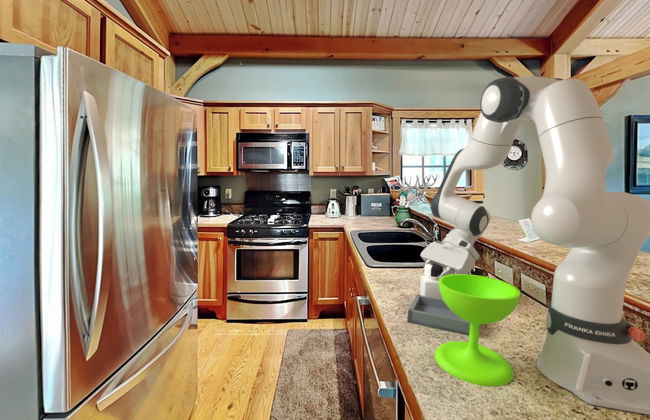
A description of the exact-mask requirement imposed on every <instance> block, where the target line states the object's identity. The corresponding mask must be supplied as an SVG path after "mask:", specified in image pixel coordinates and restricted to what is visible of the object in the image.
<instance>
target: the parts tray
mask: <svg viewBox="0 0 650 420" xmlns="http://www.w3.org/2000/svg"><path fill="white" fill-rule="evenodd" d="M407 323H410V324H413V325H418V326H419V325H420V326H423V327H428V328H433V329H438V330H442V331H445V332H450V333H451V332H452V333H456V334H460V335H465V336H469V332H470V322H469V321H466V320H464V319H462V318H460V317H459V316H457V315H456V314H455V313H454V312H452V311H451V310H450V309H449V308H448V306H447V305H446V303H445V302H444V301H443V299H440V298H434V297H428V296H423V295H420V294H416V295H415V297H414V299H413V300H412V303H411V304H410V306H409V308H408V310H407Z"/></svg>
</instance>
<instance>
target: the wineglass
mask: <svg viewBox="0 0 650 420" xmlns="http://www.w3.org/2000/svg"><path fill="white" fill-rule="evenodd" d="M439 290H440V293H441V295H442V298H443V301H444V302H445V303H446V305H447V306H448V308H449V309H450V310H451V311H452V312H454V313H455V314H456V315H457V316H459V317H460V318H462V319H464V320H466V321H469V322H470V332H469V335H468V341H462V340H461V341H458V340H457V341H448V342H445V343H442V344H441V345H439V346H438V347H437V348H436V350H435V352H434V360H435V361H436V363H437V365H438V366H439V367H440V368H442V370H443V371H444V372H446V373H448V374H449V375H451V376H452V377H453V378H456V379H458V380H461V381H462V382H466V383H469V384H471V385H477V386H482V387H501V386H505V385H508V384H509V383H511V382H512V380H513V379H514V377H515V376H514V370H513V368H512V365H511V364H510V362H509V361H508V360H507V359H506V358H504V356H502V355H501V354H499V353H498V352H497V351H495V350H493V349H492V348H489V347H487V346H483V345H481V344H479V337H480V326H481V325H490V324H494V323H497V322H500V321H503V320H504V319H506V318H507V317H508V316H509V315H511V314H512V313H513V312H514V311H515V308H516V307H517V306H518V304H519V301H520V297H521V290H520V289H518V288H517V287H516V286H514V285H512V284H511V283H509V282H507V281H504V280H500V279H497V278H493V277H489V276H483V275H476V274H469V273H468V274H457V273H455V274H454V273H452V274H451V275H446V276H443V277H441V278H440V279H439Z"/></svg>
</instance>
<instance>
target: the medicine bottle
mask: <svg viewBox="0 0 650 420" xmlns="http://www.w3.org/2000/svg"><path fill="white" fill-rule="evenodd" d="M424 267H425V270H424V272H423V273H424V274H423V275H420V285H419V286H420V287H419V295H423V296H428V297H434V298H440V299H443V298H442V295H441V293H440V290H439V278H438V277H437V276H438V275H439V273H442V272H444V268H443V267H442V266H441V265H438V264H427V265H425V264H424Z"/></svg>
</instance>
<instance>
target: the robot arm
mask: <svg viewBox="0 0 650 420" xmlns="http://www.w3.org/2000/svg"><path fill="white" fill-rule="evenodd" d="M479 102H480V103H479V105H480V113H479V115H478V117H477V120H476V122H475V125H474V128H473V131H472V134H471V138H470V140H469V142H468V144H467V145H466V146H465V148H461V149H459V150H458V151H457V152H456V153H455V155H454V156H453V158H452V159H451V162H450V164H449V166H448V168H447V170H446V172H445V174H444V177H443V178H442V180H441V182H440V185H439V187H438V189H437V191H436V193H435V195H434V196H433V197H432V199H431V202H430V205H429V206H430V211H431V214H432V215H433V217H435V218H437V219H440V220H444V221H446V222H448V223H449V224H451V225H453V226H455V227H454V228H452V229H451V230H450V231H449V232H448V233H447V235H446V236H445V237H444V238H443V239H442V241H440V240H435V241H433V242H431V243H429V244H428V245H427V246H426V247H425V248H424V249H423V250H422V251H421V253H420V257H421V259H422V260H423V261H424V262H425V264H424V267H423V268H422V272H423V273H424V270H425V265H427V264H438V265H441V266H442V267H443V272H442V273H439V275H438V276H437V277H438V278H439V279H440V278H441V277H443V276H446V275H452V274H454V273H455V274H469V273H470V272H471V270H472V269H473V268H474V266H475V264H476V261H478V260H479V259H480V257H481V256H480V254H479V253H478V251H477V250H476V249H475V248H474V244H475V243H476V241H477V240H478V239H480V237H481V236H482V235H483V234H484V232H485V231H486V229H487V228H488V225H489V223H491V222H490V221H491V217H492V216H491V214H490V212H489V211H488V210H487V209H486V207H485V206H483V205H481V204H480V203H477V202H476V201H472V200H470V199H467V198H465V197H462V196H459V195H457V194H456V192H455V189H456V187H457V185H458V183H459V181H460V179H461V177H462V175H463V173H464V172H465V171H469V170H470V171H471V170H473V171H476V170H477V171H478V170H481V171H482V170H488V169H491V168H492V169H493V168H494V167H498V166H499V165H501V164H502V163H504V162H505V161H506V160H507V158H508V156H509V155H510V151H511V150H512V149H511V148H512V147H513V143H514V140H515V137H516V135H517V132H518V129H519V128H520V127H521V126H522V125H531V124H534V125H535V128H536V132H537V137H538V140H539V146H540V149H541V153H542V159H543V162H544V169H545V182H544V183H545V184H544V189H543V192H542V196H541V197H540V199H539V201H538V202H537V203H536V204H535V205H534V207H533V209H532V211H531V214H530V223H531V226H532V227H531V228H532V230H533V231H534V233H535V235H536V236H537V237H538V238H539V239H540V240H542V241H543V242H545V243H547V244H550V245H555V246H559V247H565V248H568V249H569V248H570V250H569V252H568V253H567V255H566V257H565V258H564V259H563V261H561V262H560V263H559V264H558V265H557V266H556V268H555V270H554V272H553V282H552V293H551V301H550V303H549V304H548V306H547V307H548V309H547V312H546V323H545V326H546V330H547V331H546V337H545V340H544V344H543V347H542V350H541V352H540V354H539V357H538V359H537V360H536V367H537V369H538V370H539V372H540V373H542V374H543V375H544V376H545V377H546V378H548V380H550V381H551V382H553V383H555V384H556V385H558V386H560V387H562V388H564V389H566V390H568V391H570V392H572V393H573V394H574V395H575V396H576V397H578V398H579V399H581V400H582V401H584V402H585V403H586V404H587V403H588V404H590V405H593V406H598V407H603V408H608V409H615V410H621V411H626V412H632V413H638V414H643V415H648V416H650V353H649V352H648V351H647V350H645V349H644V348H643V347H642V346H641V345H639V343H637V342H644V340H646V338H647V337H646V333H644V331H642V330H641V329H640V328H638V327H636V326H634V325H633V324H632V323H631V322H629V321H628V320H627V319H624V318H623V316H622V315H623V310H624V309H623V308H624V301H625V293H626V286H627V283H628V279H629V277H630V274H631V271H632V270H633V267H634V265H635V262H636V260H637V258H638V256H639V254H640V251H641V249H642V247H643V245H644V243H645V242H646V240H647V239H648V238H649V237H650V201H649V200H648V199H646V198H643V197H641V196H638V195H635V194H631V193H629V192H624V191H607V188H606V173H607V170H608V169H607V167H608V166H609V165H610V164H611V163H612V162H613V159H614V154H615V153H614V150H613V146H612V143H611V140H610V136H609V133H608V130H607V127H606V124H605V120H604V116H603V113H602V110H601V109H600V106H599V104H598V102H597V100H596V97H595V96H594V94H593V92H592V91H591V89H590V87H589V86H588V85H587V84H586V82H584V81H583V80H581V79H578V78H565V79H564V78H558V77H555V78H551V77H550V78H549V77H542V76H536V75H529V76H528V75H525V76H514V77H513V76H503V77H500V78H496V79H494V80H492V81H491V82H489V83H488V85H486V87H485V88H484V90H483V92H482V95H481V97H480V101H479ZM444 269H445V270H444Z"/></svg>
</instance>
